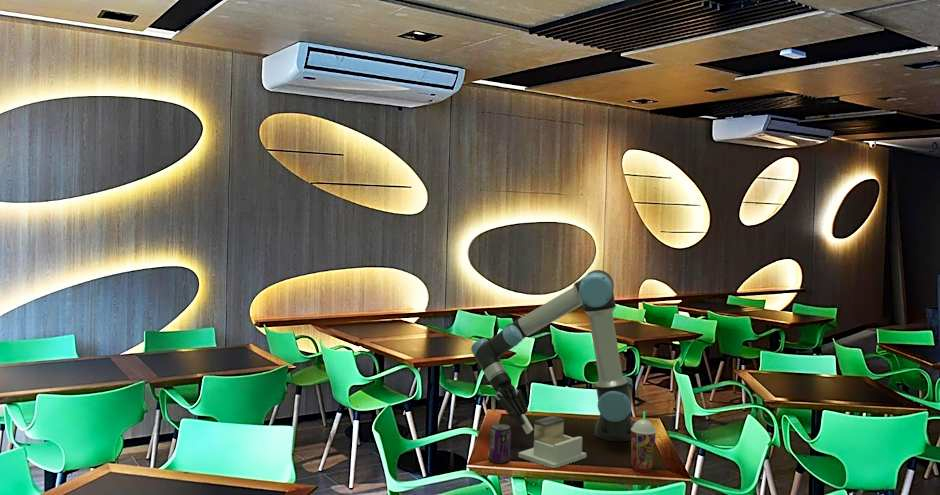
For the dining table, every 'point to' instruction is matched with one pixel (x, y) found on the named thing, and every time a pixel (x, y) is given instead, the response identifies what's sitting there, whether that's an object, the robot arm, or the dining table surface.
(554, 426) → the grey and beige block
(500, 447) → the beverage can
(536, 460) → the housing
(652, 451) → the smoothie
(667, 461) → the dining table surface
